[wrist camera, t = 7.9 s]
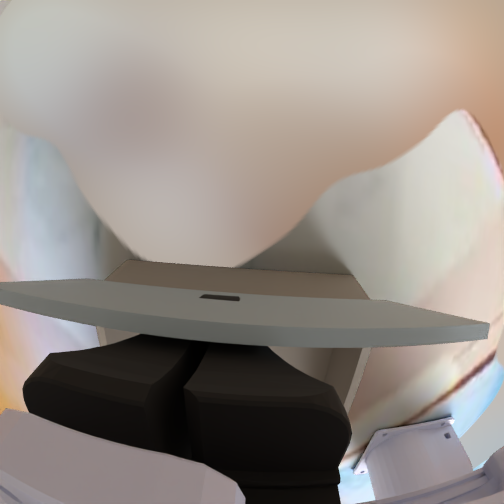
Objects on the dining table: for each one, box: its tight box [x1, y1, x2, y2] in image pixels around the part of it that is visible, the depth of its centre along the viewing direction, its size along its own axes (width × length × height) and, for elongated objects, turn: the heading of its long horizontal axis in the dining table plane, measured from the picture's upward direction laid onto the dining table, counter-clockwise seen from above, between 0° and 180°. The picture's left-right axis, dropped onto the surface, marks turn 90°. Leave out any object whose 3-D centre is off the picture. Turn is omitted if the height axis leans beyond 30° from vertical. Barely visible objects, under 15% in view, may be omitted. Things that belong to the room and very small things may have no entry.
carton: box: [96, 260, 372, 415], centre depth 18 cm, size 14×14×5 cm
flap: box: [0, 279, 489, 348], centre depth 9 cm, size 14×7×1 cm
